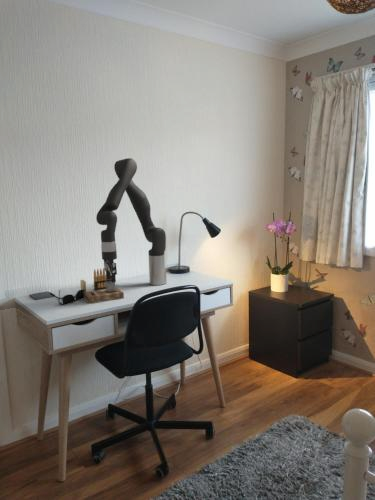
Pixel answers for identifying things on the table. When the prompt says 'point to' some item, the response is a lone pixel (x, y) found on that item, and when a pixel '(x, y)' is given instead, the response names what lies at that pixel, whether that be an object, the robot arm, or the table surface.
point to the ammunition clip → (100, 280)
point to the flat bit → (83, 285)
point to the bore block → (102, 295)
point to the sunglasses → (70, 297)
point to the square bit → (110, 287)
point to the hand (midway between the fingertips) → (111, 280)
